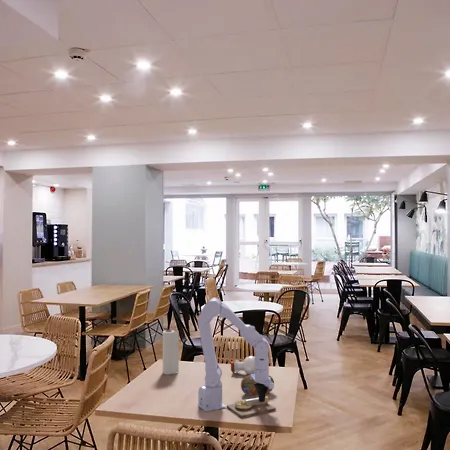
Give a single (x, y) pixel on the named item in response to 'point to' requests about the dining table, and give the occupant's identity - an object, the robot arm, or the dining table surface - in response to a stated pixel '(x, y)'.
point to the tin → (251, 386)
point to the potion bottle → (244, 365)
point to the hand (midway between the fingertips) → (262, 401)
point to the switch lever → (249, 403)
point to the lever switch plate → (252, 410)
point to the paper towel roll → (170, 351)
